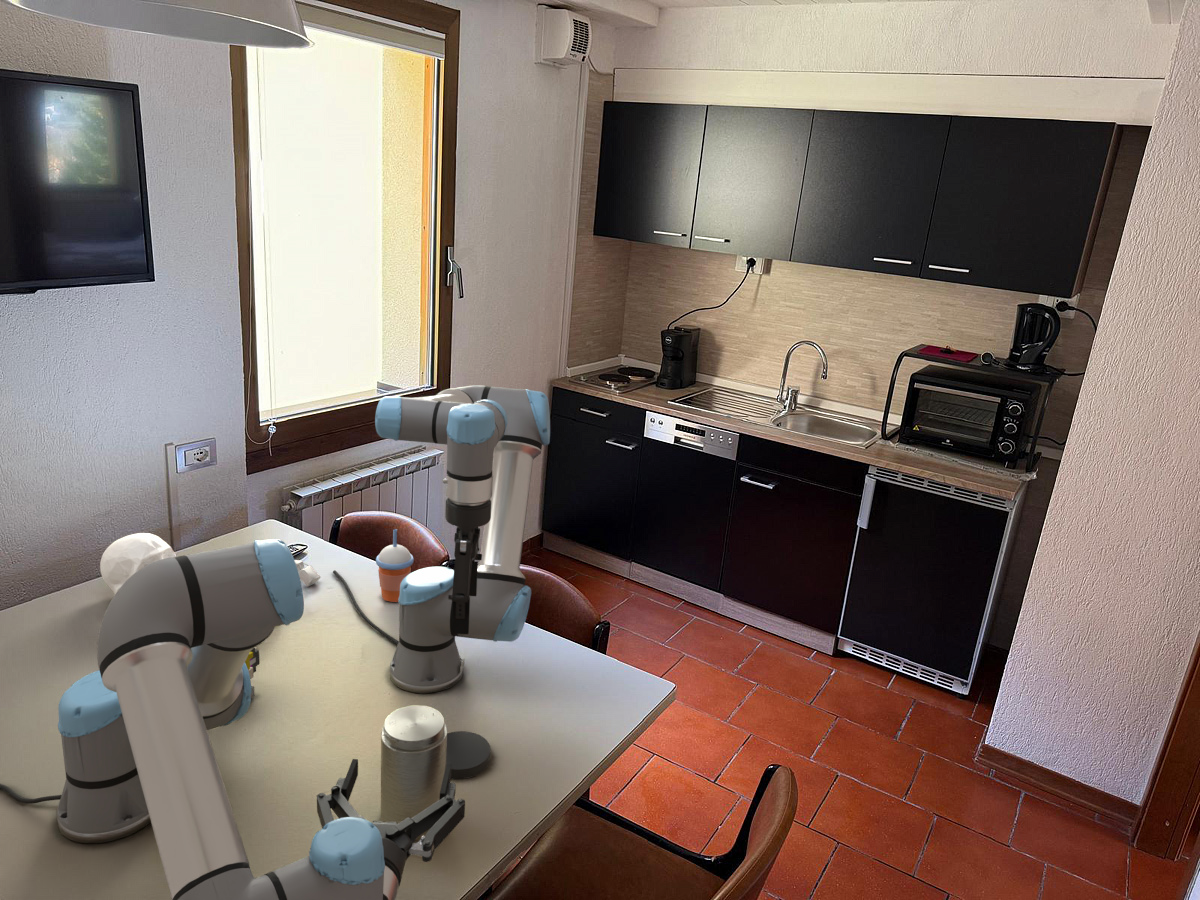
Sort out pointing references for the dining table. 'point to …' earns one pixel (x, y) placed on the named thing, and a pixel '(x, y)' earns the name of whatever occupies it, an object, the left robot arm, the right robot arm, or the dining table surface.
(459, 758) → the lid
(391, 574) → the cup with straw
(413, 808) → the jar
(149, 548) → the skull
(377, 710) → the dining table surface
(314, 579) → the clamp
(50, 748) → the dining table surface
